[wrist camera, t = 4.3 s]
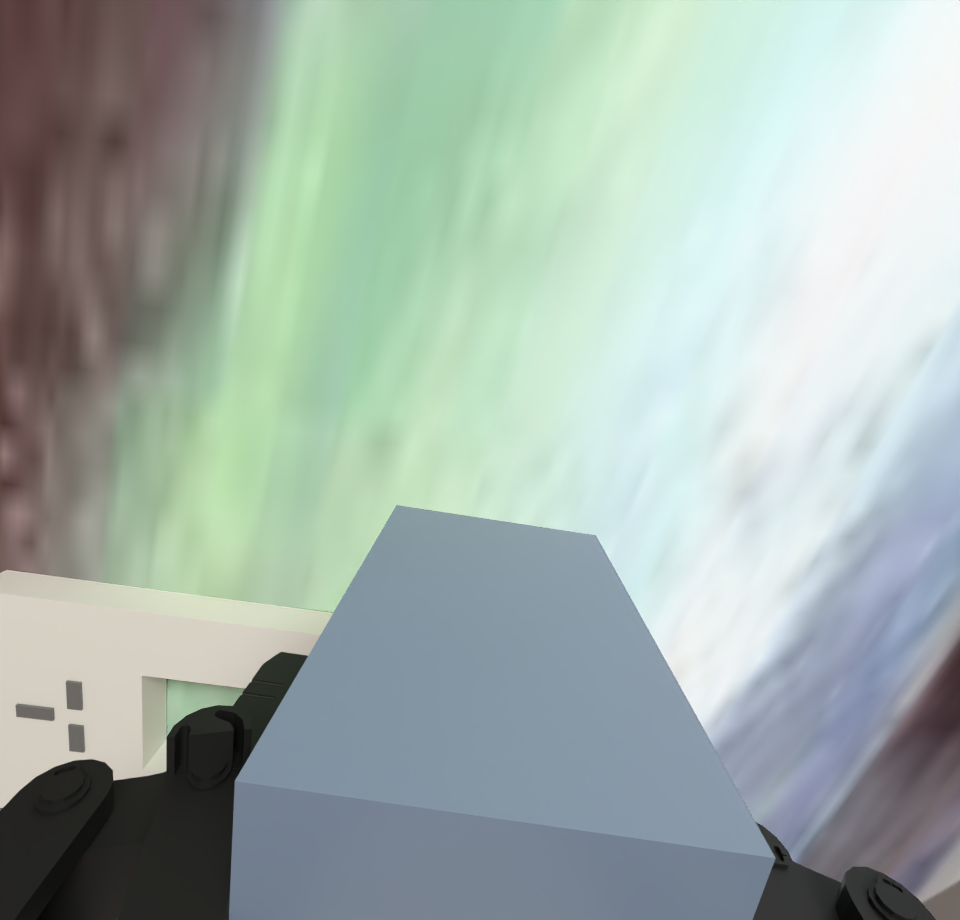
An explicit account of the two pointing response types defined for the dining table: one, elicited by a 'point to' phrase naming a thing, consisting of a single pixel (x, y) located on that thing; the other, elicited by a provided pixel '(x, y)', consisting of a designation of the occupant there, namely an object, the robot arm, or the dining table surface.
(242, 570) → the dining table surface
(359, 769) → the plug
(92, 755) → the socket plate
